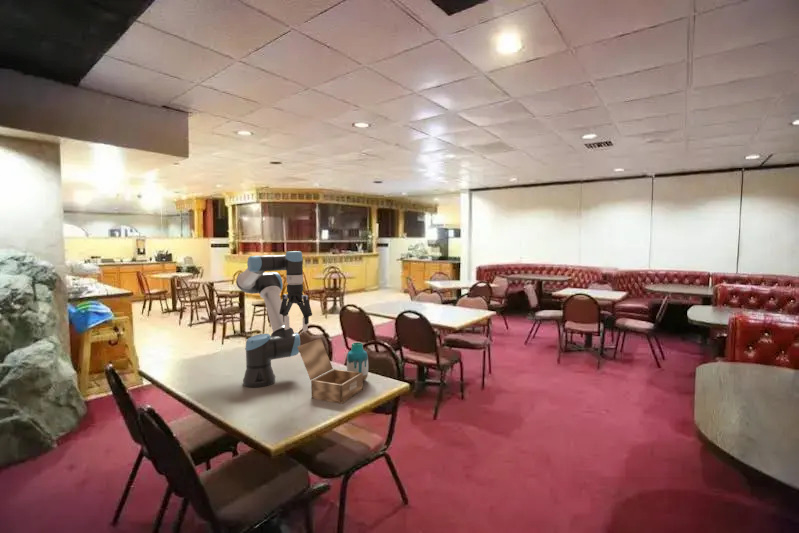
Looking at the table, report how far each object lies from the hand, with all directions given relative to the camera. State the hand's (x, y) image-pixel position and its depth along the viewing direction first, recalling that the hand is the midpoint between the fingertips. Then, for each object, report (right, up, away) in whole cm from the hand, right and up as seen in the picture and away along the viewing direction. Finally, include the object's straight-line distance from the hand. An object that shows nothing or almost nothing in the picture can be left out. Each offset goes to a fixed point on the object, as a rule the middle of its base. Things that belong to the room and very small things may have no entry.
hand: (296, 330), depth 192 cm
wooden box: (+21, -28, -8) cm, 36 cm away
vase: (+29, -27, +8) cm, 40 cm away
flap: (+10, -12, -4) cm, 17 cm away
